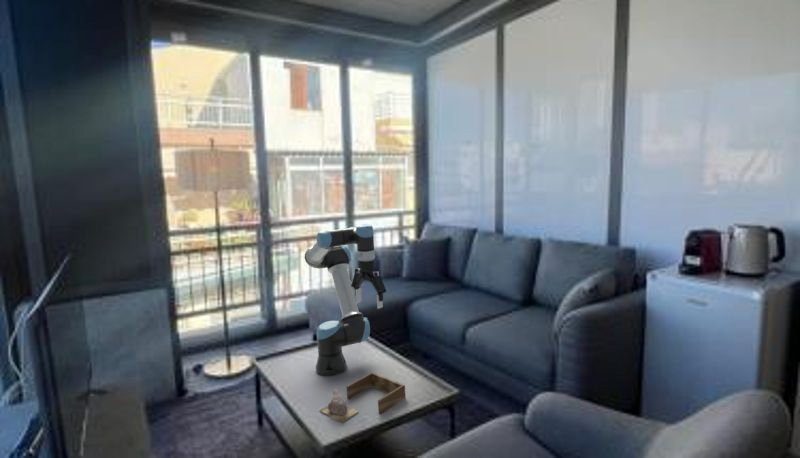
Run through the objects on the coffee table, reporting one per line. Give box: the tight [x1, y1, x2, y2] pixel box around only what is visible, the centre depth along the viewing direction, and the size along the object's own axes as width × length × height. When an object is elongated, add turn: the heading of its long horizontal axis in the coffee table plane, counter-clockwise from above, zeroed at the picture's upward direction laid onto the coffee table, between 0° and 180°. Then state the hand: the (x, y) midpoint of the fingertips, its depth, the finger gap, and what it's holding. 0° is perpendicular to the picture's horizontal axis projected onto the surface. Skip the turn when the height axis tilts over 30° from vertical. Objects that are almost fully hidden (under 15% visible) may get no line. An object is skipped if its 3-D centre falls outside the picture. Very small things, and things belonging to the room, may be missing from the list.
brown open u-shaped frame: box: [346, 371, 406, 415], centre depth 190 cm, size 20×16×6 cm
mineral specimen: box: [327, 388, 348, 415], centre depth 181 cm, size 13×7×6 cm, turn 25°
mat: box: [319, 405, 360, 424], centre depth 181 cm, size 14×9×1 cm, turn 49°
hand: (369, 305), depth 201 cm, fingers open, 13 cm apart
